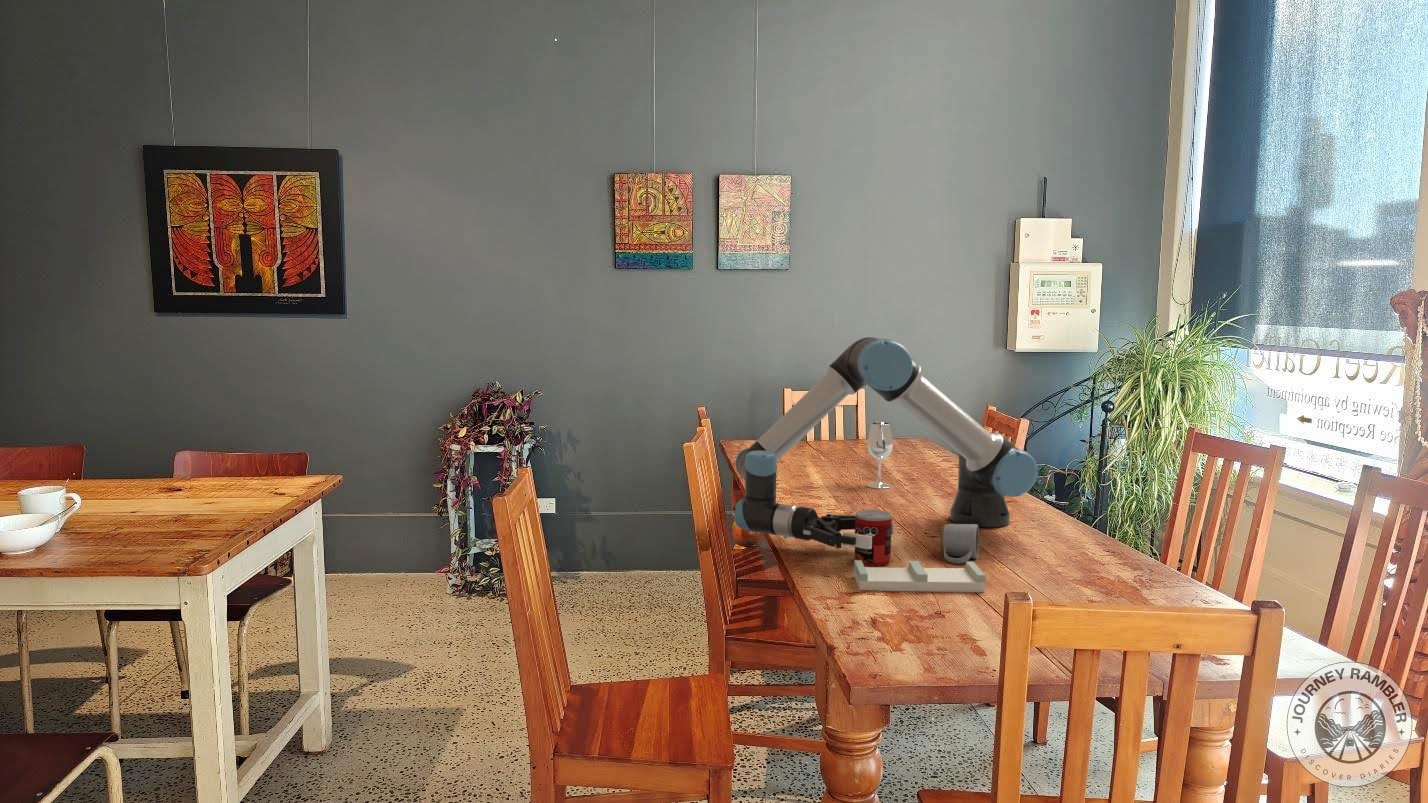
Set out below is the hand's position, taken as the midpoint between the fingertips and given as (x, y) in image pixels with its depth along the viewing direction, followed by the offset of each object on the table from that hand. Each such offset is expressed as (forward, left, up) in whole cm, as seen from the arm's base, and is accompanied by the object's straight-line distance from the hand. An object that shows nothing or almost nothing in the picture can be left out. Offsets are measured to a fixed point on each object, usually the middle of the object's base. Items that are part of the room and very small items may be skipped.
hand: (882, 535), depth 190 cm
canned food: (+2, -1, -7) cm, 7 cm away
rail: (-5, +14, -6) cm, 16 cm away
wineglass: (-12, -79, -7) cm, 80 cm away
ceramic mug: (-18, -5, -7) cm, 20 cm away
